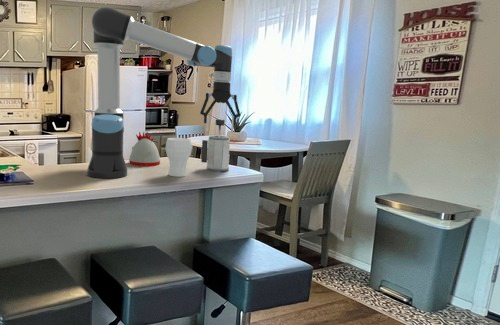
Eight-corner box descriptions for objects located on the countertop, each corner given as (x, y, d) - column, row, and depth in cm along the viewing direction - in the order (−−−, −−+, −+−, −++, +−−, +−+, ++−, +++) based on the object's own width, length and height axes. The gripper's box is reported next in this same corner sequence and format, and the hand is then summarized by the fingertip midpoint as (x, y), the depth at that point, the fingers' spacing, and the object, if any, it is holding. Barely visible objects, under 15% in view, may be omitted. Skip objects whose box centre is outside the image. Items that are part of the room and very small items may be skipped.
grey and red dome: (130, 160, 211) (131, 129, 208) (160, 161, 213) (161, 130, 211) (128, 166, 197) (128, 132, 195) (159, 166, 200) (160, 133, 197)
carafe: (200, 170, 197) (201, 137, 194) (201, 166, 207) (203, 134, 204) (228, 172, 197) (230, 138, 195) (228, 168, 207) (230, 136, 205)
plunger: (210, 162, 198) (212, 119, 195) (211, 159, 204) (213, 118, 201) (224, 163, 198) (227, 120, 195) (225, 160, 205) (227, 119, 201)
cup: (185, 178, 178) (186, 141, 176) (160, 176, 180) (161, 139, 178) (194, 173, 189) (195, 138, 186) (170, 171, 191) (171, 136, 188)
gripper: (195, 79, 191) (193, 130, 195) (248, 83, 192) (245, 133, 196) (196, 80, 199) (194, 129, 202) (247, 83, 200) (244, 132, 203)
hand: (219, 131), depth 199 cm, fingers open, 10 cm apart
